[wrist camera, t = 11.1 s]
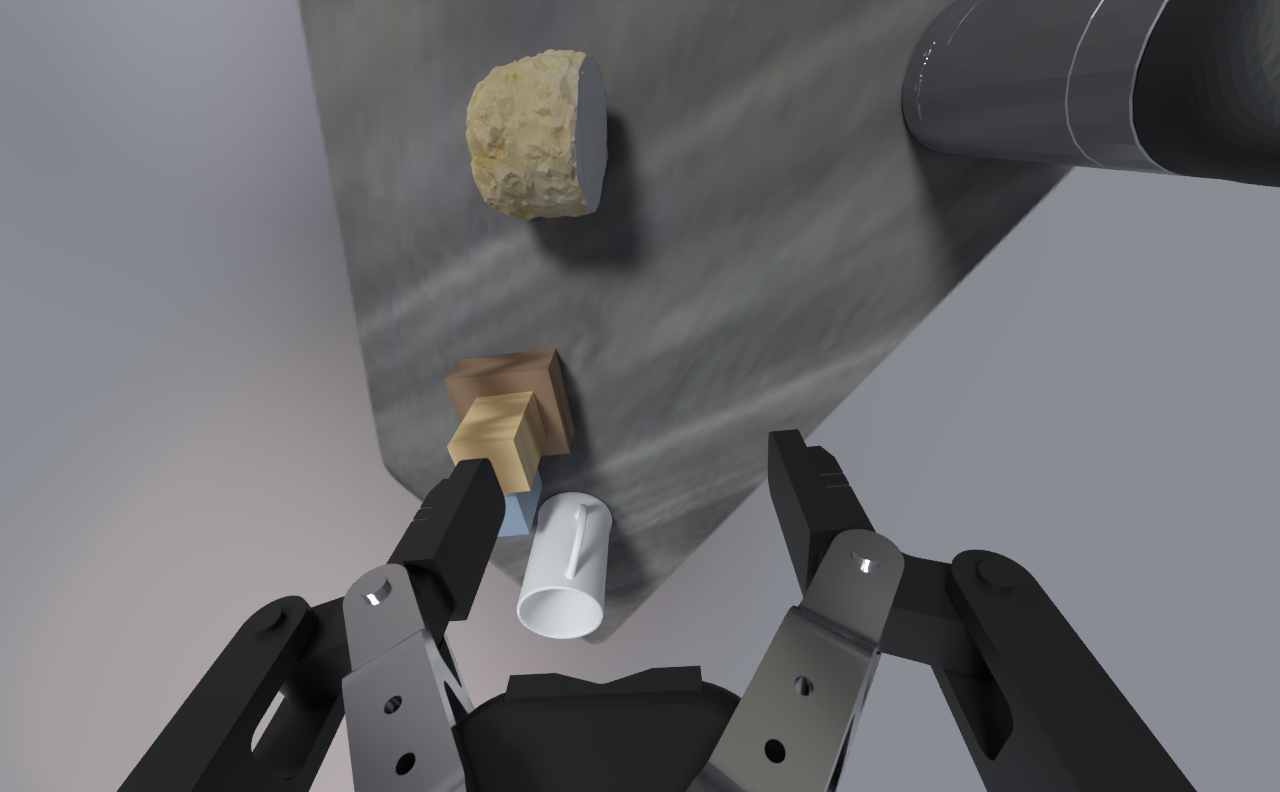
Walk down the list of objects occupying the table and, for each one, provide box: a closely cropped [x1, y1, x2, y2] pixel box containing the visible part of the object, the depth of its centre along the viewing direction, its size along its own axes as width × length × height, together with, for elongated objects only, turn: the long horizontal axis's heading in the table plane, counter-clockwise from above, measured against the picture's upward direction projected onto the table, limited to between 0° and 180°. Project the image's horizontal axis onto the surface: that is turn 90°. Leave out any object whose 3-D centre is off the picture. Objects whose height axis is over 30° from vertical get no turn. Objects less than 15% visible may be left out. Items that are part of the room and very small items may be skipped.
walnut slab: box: [444, 349, 575, 456], centre depth 42 cm, size 9×9×4 cm
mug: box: [517, 492, 612, 639], centre depth 47 cm, size 12×8×12 cm
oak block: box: [447, 391, 546, 494], centre depth 37 cm, size 5×5×7 cm
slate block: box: [497, 468, 543, 537], centre depth 46 cm, size 5×5×7 cm
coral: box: [466, 49, 608, 221], centre depth 29 cm, size 10×10×10 cm
